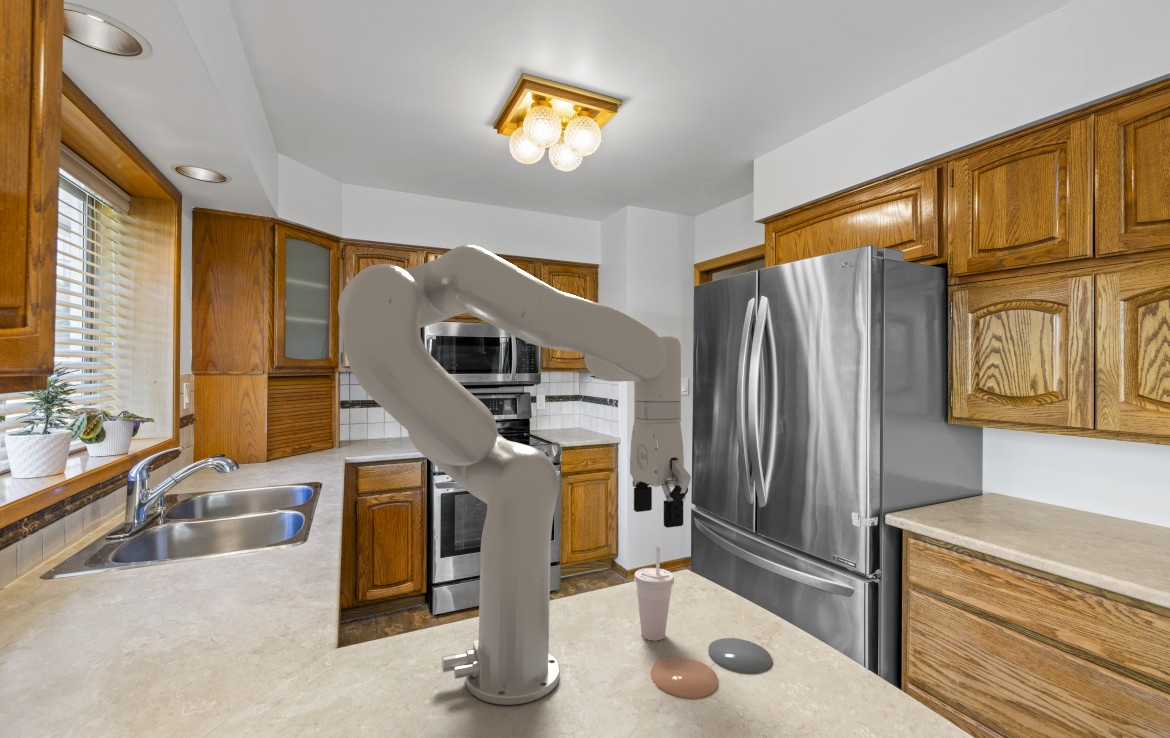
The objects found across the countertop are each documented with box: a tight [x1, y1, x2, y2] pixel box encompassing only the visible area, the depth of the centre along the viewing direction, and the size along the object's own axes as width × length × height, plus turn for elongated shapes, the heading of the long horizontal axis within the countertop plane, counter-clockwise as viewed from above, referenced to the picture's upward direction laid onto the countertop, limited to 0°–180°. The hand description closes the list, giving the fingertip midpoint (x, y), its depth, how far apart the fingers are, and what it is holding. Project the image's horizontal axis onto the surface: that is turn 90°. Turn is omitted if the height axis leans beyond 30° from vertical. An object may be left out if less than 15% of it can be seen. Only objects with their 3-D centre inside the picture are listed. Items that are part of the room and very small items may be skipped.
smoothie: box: [633, 546, 675, 642], centre depth 84 cm, size 6×6×14 cm
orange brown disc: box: [650, 656, 719, 699], centre depth 72 cm, size 9×9×1 cm
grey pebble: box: [707, 637, 772, 674], centre depth 78 cm, size 9×9×1 cm
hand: (657, 518), depth 84 cm, fingers open, 9 cm apart
